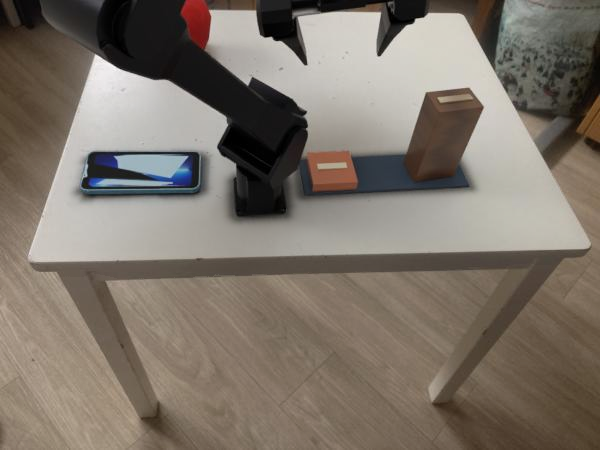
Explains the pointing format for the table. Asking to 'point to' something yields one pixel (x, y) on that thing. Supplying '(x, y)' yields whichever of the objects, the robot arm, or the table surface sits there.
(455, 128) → the brown tall rectangular block
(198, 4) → the apple
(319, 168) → the letter tile
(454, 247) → the table surface
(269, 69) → the table surface
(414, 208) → the table surface
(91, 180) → the smartphone
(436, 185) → the word mat
